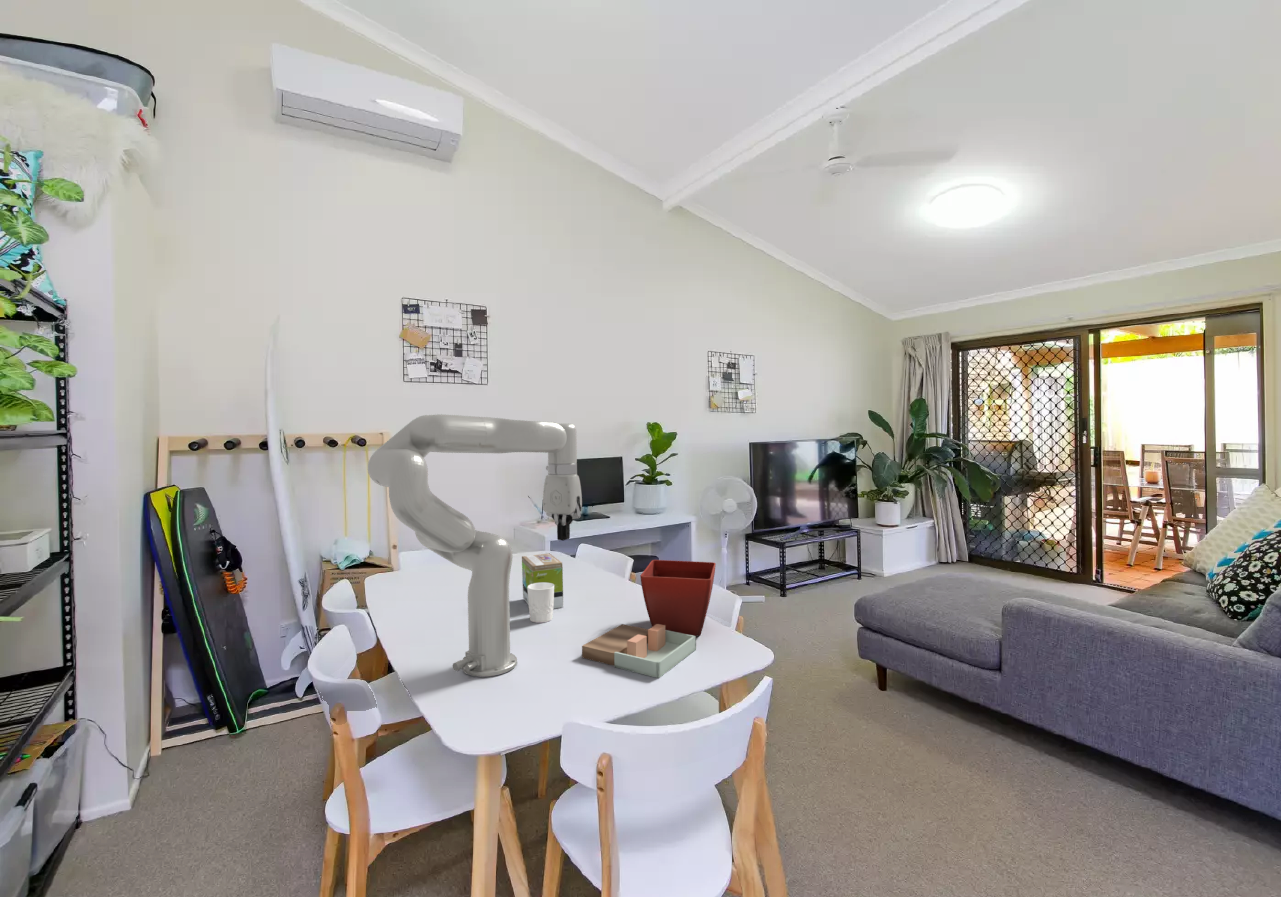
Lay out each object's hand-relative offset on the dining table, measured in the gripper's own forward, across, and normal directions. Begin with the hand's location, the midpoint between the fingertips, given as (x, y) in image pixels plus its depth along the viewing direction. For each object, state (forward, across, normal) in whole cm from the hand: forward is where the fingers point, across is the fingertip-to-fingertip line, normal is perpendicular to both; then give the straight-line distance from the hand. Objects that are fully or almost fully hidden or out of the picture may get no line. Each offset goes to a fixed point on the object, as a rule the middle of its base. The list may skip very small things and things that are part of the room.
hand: (563, 539), depth 151 cm
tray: (+27, +27, +2) cm, 38 cm away
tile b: (+24, +23, +7) cm, 34 cm away
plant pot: (+27, +22, +24) cm, 43 cm away
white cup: (+27, -17, +10) cm, 34 cm away
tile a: (+24, +23, -2) cm, 33 cm away
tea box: (+27, -27, +22) cm, 44 cm away
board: (+27, +16, +2) cm, 32 cm away
